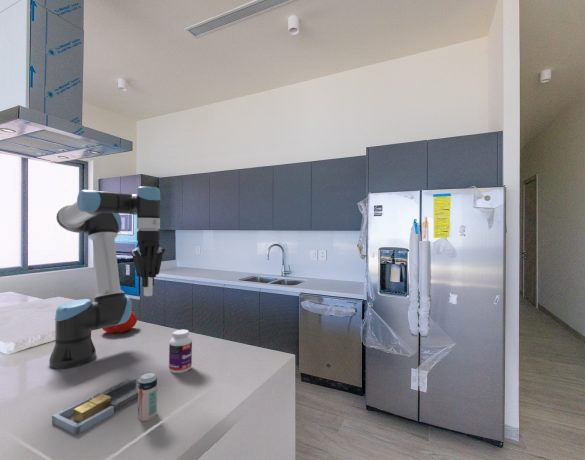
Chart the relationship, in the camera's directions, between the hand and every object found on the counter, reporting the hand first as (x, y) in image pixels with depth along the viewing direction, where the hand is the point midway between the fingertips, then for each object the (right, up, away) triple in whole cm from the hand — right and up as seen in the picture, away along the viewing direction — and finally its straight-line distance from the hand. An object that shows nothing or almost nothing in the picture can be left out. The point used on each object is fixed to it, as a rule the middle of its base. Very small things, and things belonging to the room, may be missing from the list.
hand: (148, 295), depth 108 cm
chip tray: (-6, -30, -24) cm, 38 cm away
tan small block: (-6, -29, -24) cm, 38 cm away
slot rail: (-1, -30, -13) cm, 32 cm away
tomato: (-37, -29, +47) cm, 67 cm away
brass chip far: (-4, -29, -20) cm, 35 cm away
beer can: (+11, -30, -23) cm, 39 cm away
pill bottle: (+9, -30, +6) cm, 32 cm away
